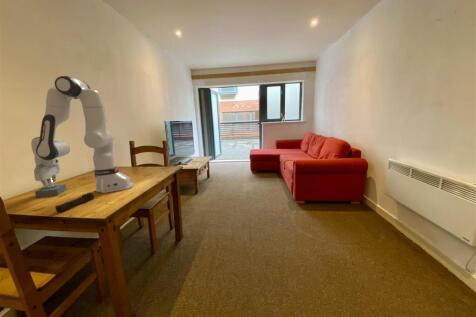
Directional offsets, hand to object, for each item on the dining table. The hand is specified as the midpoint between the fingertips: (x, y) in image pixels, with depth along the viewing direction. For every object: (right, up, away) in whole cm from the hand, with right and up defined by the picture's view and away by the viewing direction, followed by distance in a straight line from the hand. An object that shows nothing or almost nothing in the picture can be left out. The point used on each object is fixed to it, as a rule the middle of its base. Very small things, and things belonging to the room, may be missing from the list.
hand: (50, 183), depth 130 cm
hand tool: (+32, -10, -19) cm, 39 cm away
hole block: (0, -6, +1) cm, 7 cm away
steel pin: (0, -6, +1) cm, 7 cm away
